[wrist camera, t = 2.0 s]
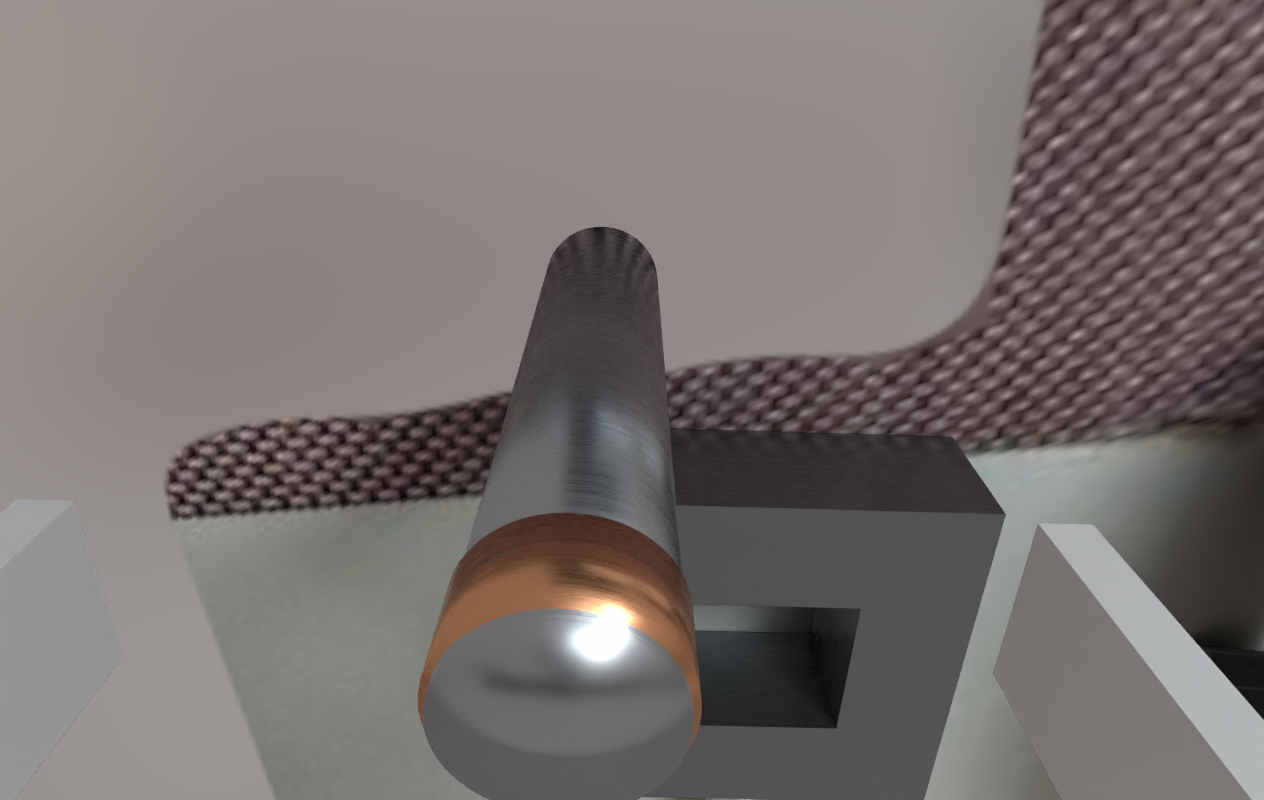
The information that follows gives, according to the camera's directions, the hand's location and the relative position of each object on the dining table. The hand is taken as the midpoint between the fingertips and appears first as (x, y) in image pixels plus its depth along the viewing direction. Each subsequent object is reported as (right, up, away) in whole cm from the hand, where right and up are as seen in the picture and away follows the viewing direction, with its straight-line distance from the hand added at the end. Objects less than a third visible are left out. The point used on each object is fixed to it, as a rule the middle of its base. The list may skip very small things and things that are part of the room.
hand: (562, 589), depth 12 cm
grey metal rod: (0, +6, +11) cm, 12 cm away
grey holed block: (+5, -8, +18) cm, 20 cm away
